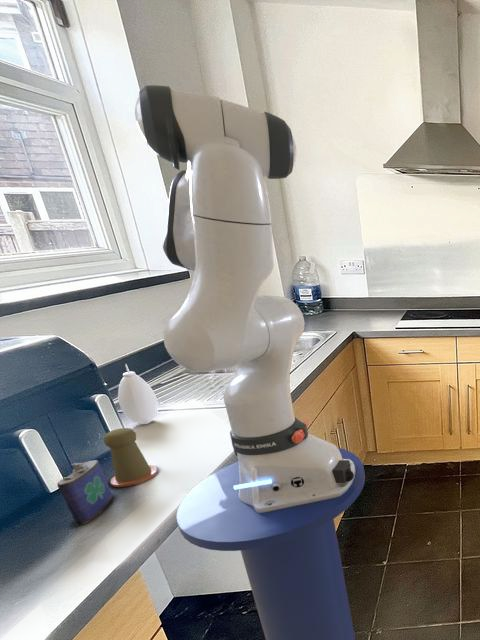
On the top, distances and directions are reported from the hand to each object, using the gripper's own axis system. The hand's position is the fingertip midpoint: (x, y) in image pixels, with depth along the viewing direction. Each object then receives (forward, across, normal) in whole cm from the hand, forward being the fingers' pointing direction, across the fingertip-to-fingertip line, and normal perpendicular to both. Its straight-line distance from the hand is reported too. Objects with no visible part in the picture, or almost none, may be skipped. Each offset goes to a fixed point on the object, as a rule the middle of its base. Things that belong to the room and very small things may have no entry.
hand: (190, 352), depth 101 cm
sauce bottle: (+17, -29, +18) cm, 38 cm away
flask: (+38, +6, -3) cm, 38 cm away
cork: (+30, 0, +4) cm, 30 cm away
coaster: (+30, 0, +4) cm, 30 cm away
